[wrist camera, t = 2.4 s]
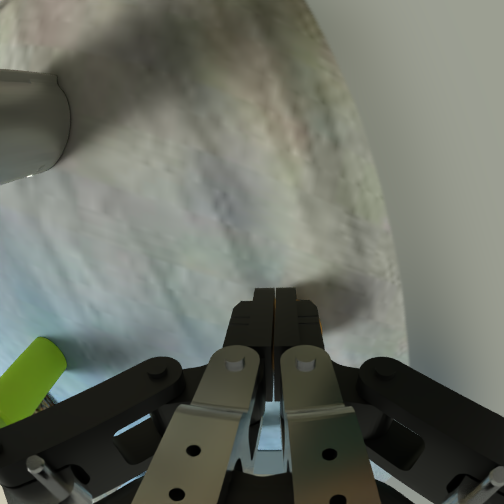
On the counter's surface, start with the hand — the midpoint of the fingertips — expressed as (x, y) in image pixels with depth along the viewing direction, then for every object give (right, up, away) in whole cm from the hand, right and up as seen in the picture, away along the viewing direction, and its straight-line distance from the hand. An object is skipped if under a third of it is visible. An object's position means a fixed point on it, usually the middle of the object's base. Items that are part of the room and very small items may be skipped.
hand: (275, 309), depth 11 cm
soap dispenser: (-28, -11, +21) cm, 37 cm away
